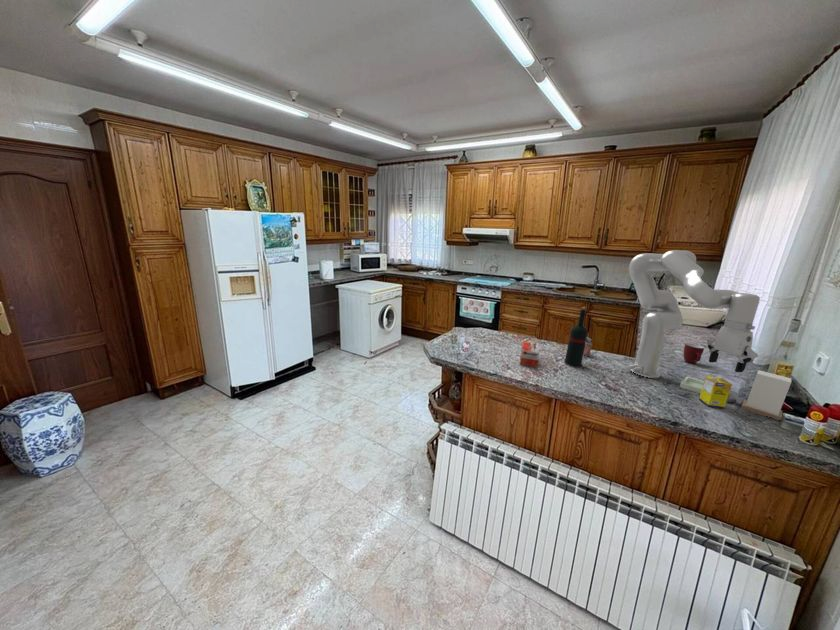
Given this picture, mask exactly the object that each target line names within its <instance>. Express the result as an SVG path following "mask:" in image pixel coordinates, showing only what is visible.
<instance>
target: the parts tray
mask: <svg viewBox="0 0 840 630" xmlns="http://www.w3.org/2000/svg"><path fill="white" fill-rule="evenodd" d="M704 382H705V380H700V379H697V378H693V377H690V376H685V378H684V379H683V380H682V381H681V382H680V385H679V388H680V387H681V389H683V390H686V391H690V392H694V393H697V394H699V395H700V394H701V391H702V388H703V385H704Z"/></svg>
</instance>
